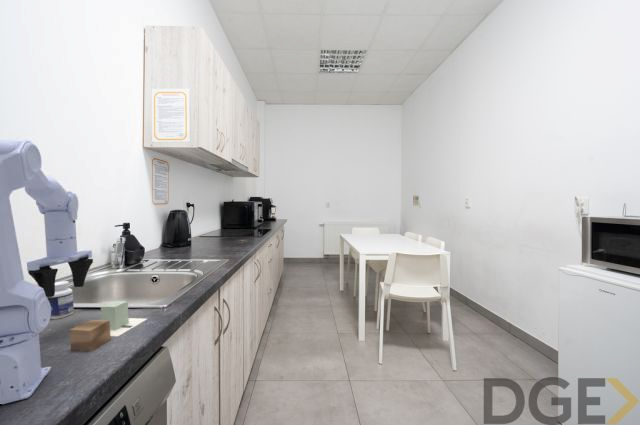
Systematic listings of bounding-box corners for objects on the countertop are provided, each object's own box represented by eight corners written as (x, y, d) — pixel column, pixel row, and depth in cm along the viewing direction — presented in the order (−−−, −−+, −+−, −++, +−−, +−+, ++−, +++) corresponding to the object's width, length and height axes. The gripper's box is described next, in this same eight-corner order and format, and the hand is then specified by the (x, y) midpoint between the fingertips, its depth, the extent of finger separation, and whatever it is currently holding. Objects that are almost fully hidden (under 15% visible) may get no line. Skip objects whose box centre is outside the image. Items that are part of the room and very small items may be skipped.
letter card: (117, 337, 67) (117, 336, 67) (81, 336, 69) (81, 334, 69) (147, 319, 77) (147, 318, 77) (115, 318, 78) (115, 317, 78)
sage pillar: (116, 330, 71) (115, 306, 70) (102, 329, 71) (100, 306, 71) (128, 323, 75) (127, 301, 74) (115, 322, 75) (114, 300, 75)
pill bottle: (45, 317, 80) (43, 284, 80) (69, 310, 85) (67, 279, 85) (53, 320, 78) (51, 286, 77) (77, 313, 83) (75, 281, 82)
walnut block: (90, 352, 61) (89, 330, 61) (70, 351, 62) (69, 329, 61) (110, 341, 66) (109, 320, 66) (92, 340, 67) (90, 319, 66)
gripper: (45, 242, 63) (49, 301, 63) (100, 234, 77) (103, 282, 78) (17, 243, 63) (21, 301, 64) (77, 235, 78) (80, 282, 78)
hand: (64, 291), depth 71 cm, fingers open, 7 cm apart
